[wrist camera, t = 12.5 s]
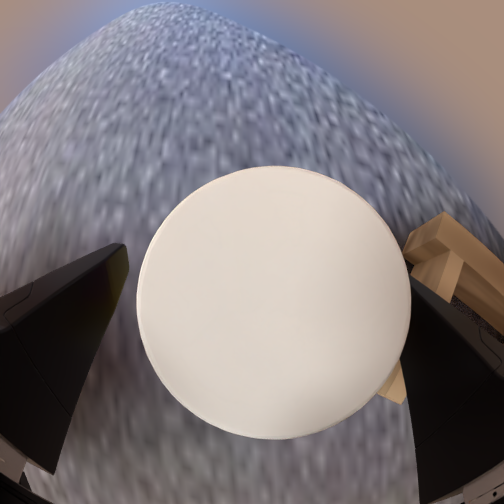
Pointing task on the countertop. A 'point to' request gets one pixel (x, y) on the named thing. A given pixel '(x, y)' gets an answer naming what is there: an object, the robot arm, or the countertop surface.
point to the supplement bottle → (273, 302)
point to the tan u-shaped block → (452, 278)
